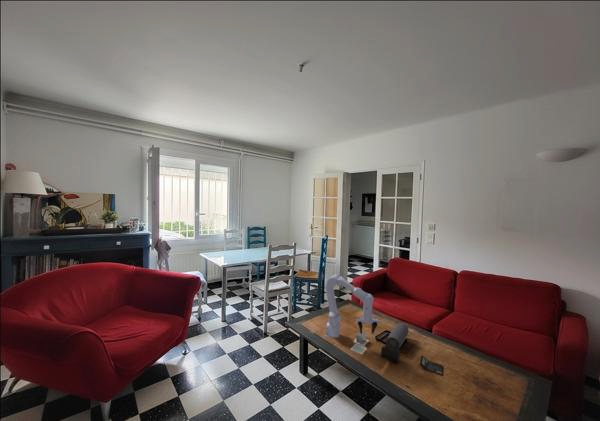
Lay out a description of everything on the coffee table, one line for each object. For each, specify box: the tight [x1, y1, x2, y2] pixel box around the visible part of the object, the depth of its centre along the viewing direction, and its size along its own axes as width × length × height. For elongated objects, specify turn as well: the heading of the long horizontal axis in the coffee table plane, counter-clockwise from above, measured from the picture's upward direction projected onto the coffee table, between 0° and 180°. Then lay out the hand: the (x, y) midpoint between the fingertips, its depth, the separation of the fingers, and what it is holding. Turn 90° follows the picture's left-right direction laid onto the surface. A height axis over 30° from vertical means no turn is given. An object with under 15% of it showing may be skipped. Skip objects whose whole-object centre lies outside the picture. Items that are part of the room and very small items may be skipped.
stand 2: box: [349, 343, 368, 355], centre depth 158 cm, size 8×8×2 cm
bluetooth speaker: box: [386, 322, 409, 350], centre depth 167 cm, size 23×9×10 cm, turn 143°
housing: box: [355, 331, 367, 345], centre depth 166 cm, size 4×6×5 cm
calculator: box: [419, 355, 444, 376], centre depth 144 cm, size 9×12×3 cm
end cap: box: [380, 344, 401, 364], centre depth 150 cm, size 10×7×7 cm
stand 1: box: [353, 338, 369, 347], centre depth 166 cm, size 8×8×2 cm
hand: (366, 333), depth 161 cm, fingers open, 7 cm apart
